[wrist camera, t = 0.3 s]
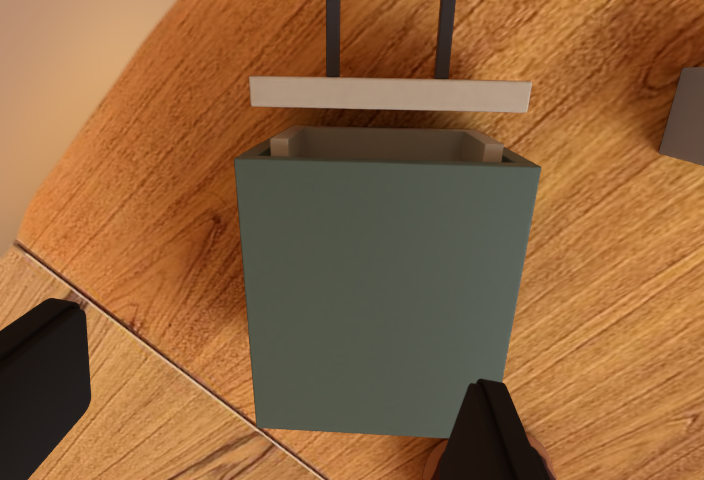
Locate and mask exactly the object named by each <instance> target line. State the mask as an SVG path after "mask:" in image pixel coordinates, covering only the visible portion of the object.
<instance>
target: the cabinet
mask: <svg viewBox="0 0 704 480" xmlns="http://www.w3.org/2000/svg"><path fill="white" fill-rule="evenodd" d="M275 136H276V135H275ZM273 137H274V136H273ZM270 138H272V137H270ZM270 138H269V139H267V140H265V141H263V142H262V143H260V144H258V145H257V146H255V147H253V148H251V149H250V150H248V151H246V152H244V153H243V154H241V155H240V156H238V157H236V158H234V166H235V178H236V190H237V202H238V213H239V225H240V237H241V249H242V261H243V273H244V284H245V296H246V308H247V320H248V332H249V344H250V355H251V367H252V379H253V391H254V403H255V415H256V426H257V428H269V429H287V430H306V431H324V432H342V433H360V434H378V435H396V436H414V437H432V438H449V437H450V434H451V432H452V429H453V426H454V424H455V421H456V418H457V415H458V413H459V410H460V407H461V404H462V402H463V399H464V396H465V394H466V391H467V388H468V386H469V384H470V383H474V384H476V382H477V380H478V379H486V380H492V381H497V382H502V379H503V374H504V369H505V363H506V358H507V352H508V347H509V341H510V336H511V330H512V325H513V319H514V314H515V309H516V303H517V298H518V292H519V287H520V281H521V276H522V270H523V265H524V259H525V254H526V249H527V243H528V238H529V232H530V227H531V221H532V216H533V210H534V205H535V199H536V194H537V189H538V183H539V178H540V172H541V167H540V166H538V165H536V164H534V163H533V162H531V161H529V160H527V159H525V158H524V157H522V156H520V155H518V154H516V153H514V152H512V151H511V150H509V149H507V148H505V147H503V154H502V161H501V162H469V161H432V160H396V159H359V158H323V157H286V156H271V148H270Z"/></svg>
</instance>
